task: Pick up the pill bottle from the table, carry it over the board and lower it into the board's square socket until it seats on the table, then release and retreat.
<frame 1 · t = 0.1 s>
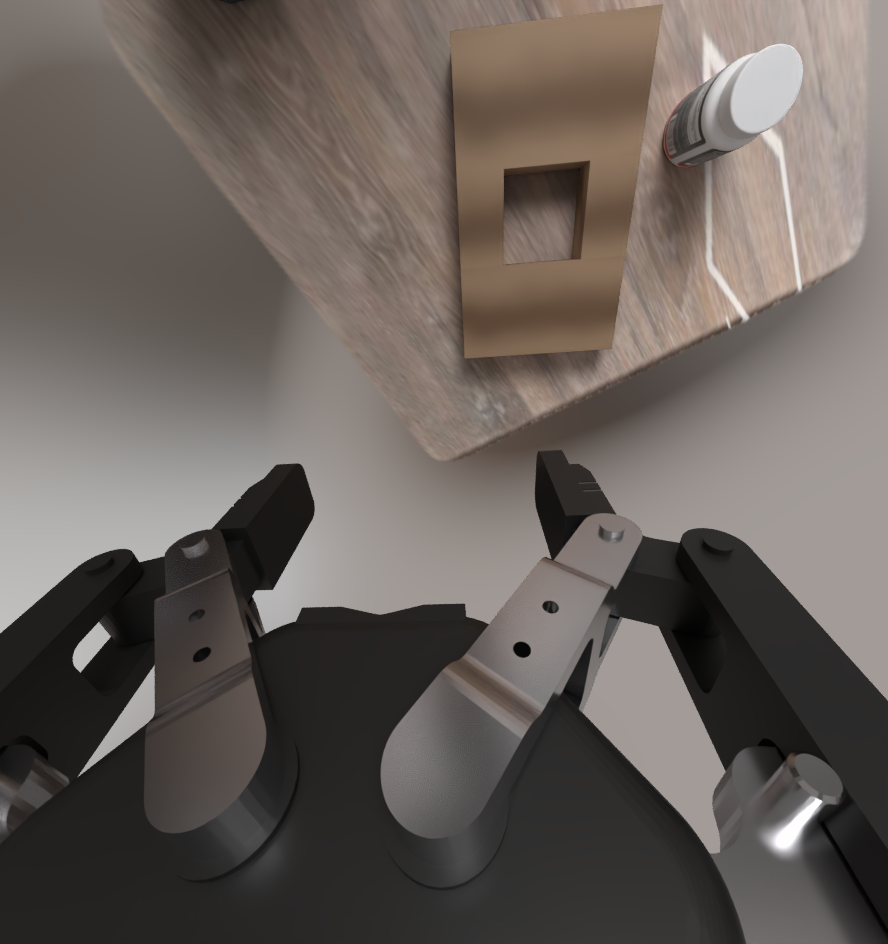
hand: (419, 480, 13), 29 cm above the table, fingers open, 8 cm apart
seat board: (537, 219, 33), on the table
pill bottle: (691, 131, 30), on the table
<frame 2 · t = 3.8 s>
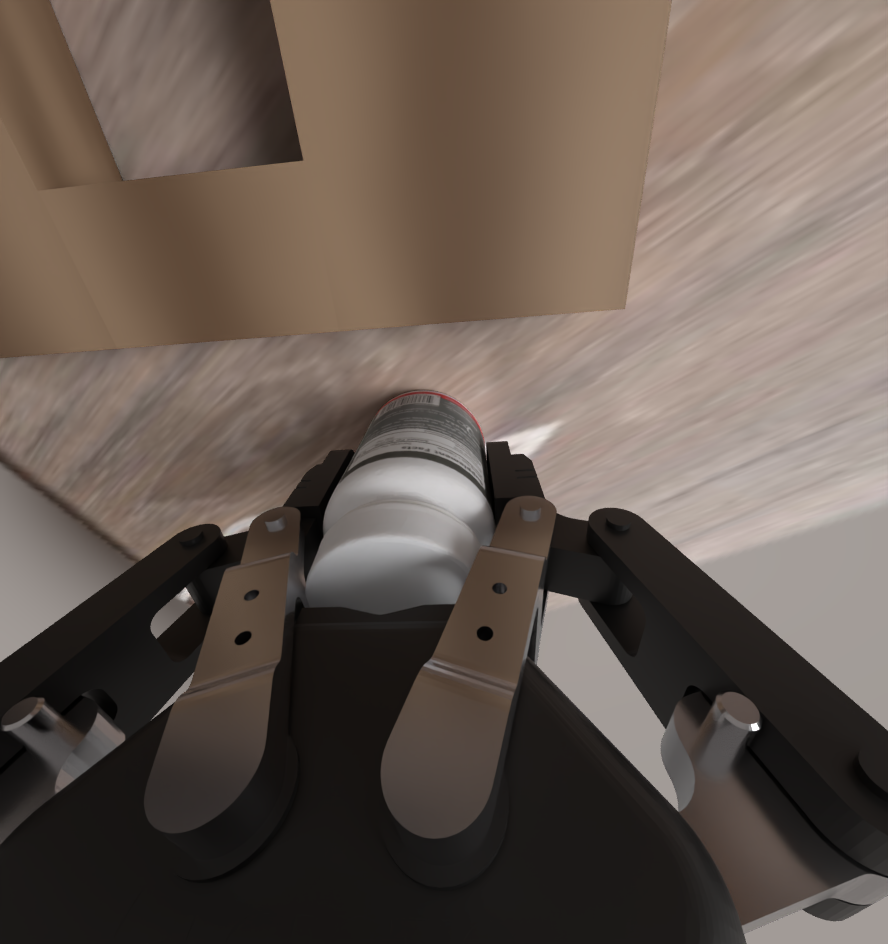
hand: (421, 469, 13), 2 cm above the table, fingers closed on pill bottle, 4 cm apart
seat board: (188, 37, 10), on the table
pill bottle: (427, 441, 15), on the table, touching gripper
when the fingers open (4 cm above the table, at t = 8.1 s): pill bottle drops 1 cm, resting in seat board.
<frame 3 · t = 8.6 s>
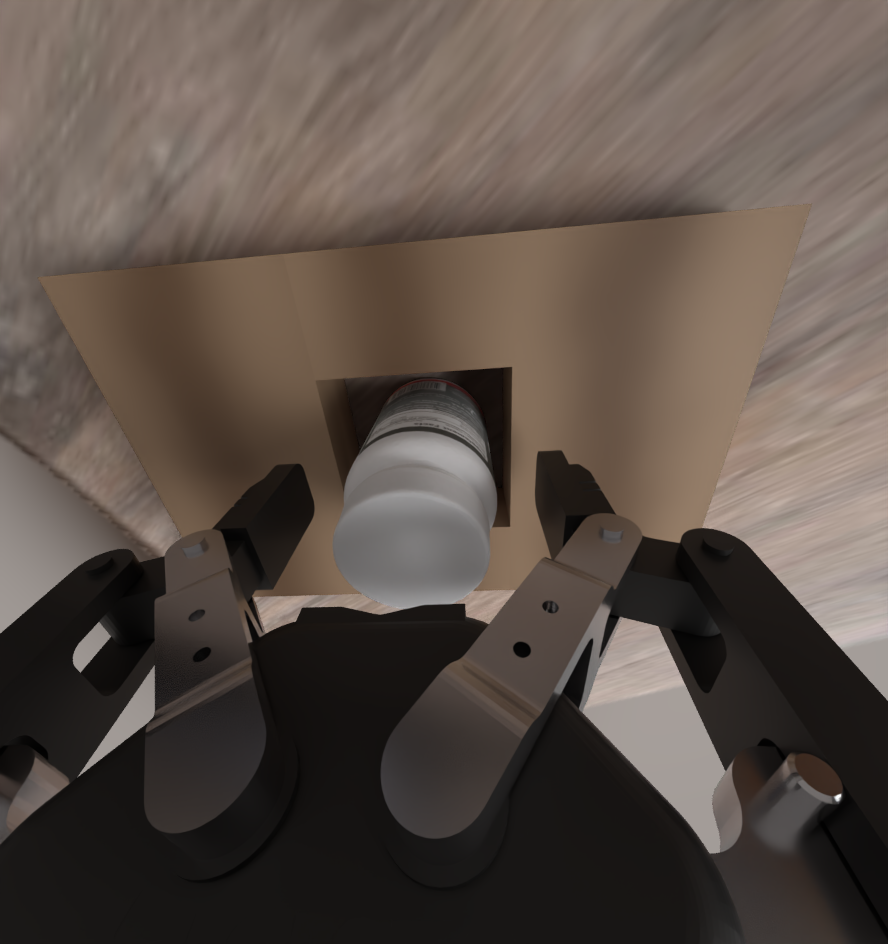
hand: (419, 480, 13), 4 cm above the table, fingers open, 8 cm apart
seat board: (428, 429, 17), on the table
pill bottle: (433, 426, 17), resting in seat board
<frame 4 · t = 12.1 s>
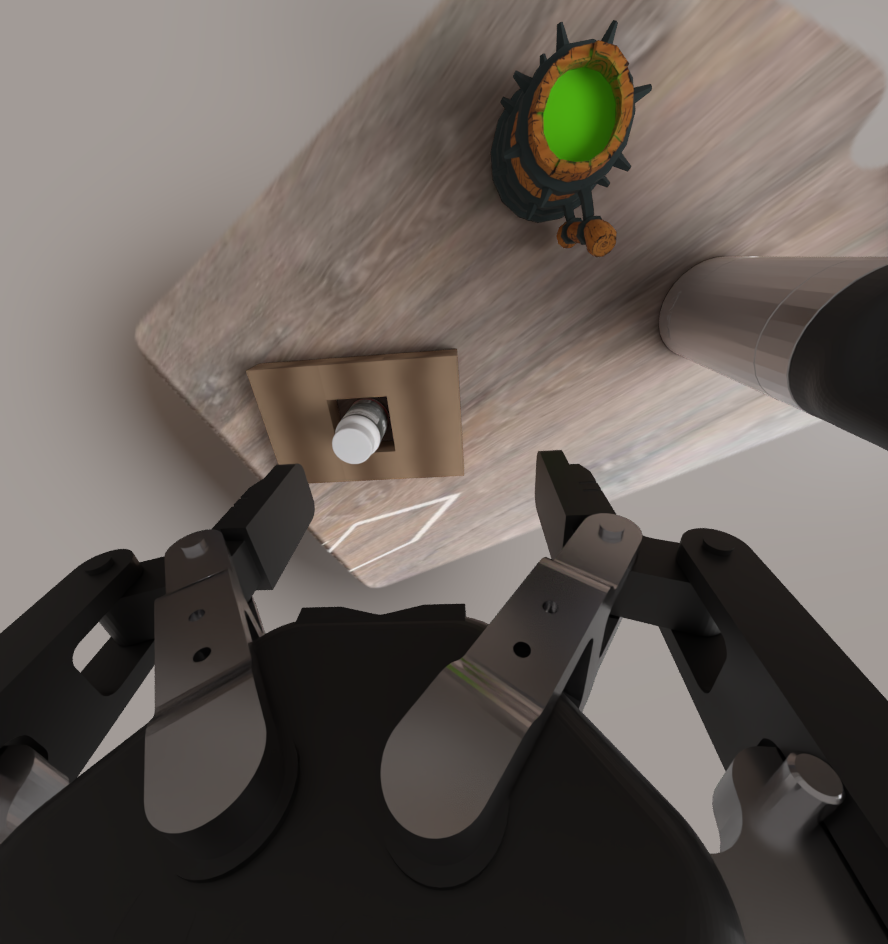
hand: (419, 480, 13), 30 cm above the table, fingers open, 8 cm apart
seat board: (367, 416, 44), on the table
mug: (550, 175, 32), on the table
pill bottle: (369, 415, 44), resting in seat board
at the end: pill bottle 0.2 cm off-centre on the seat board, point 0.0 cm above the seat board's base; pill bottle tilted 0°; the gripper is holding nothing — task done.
